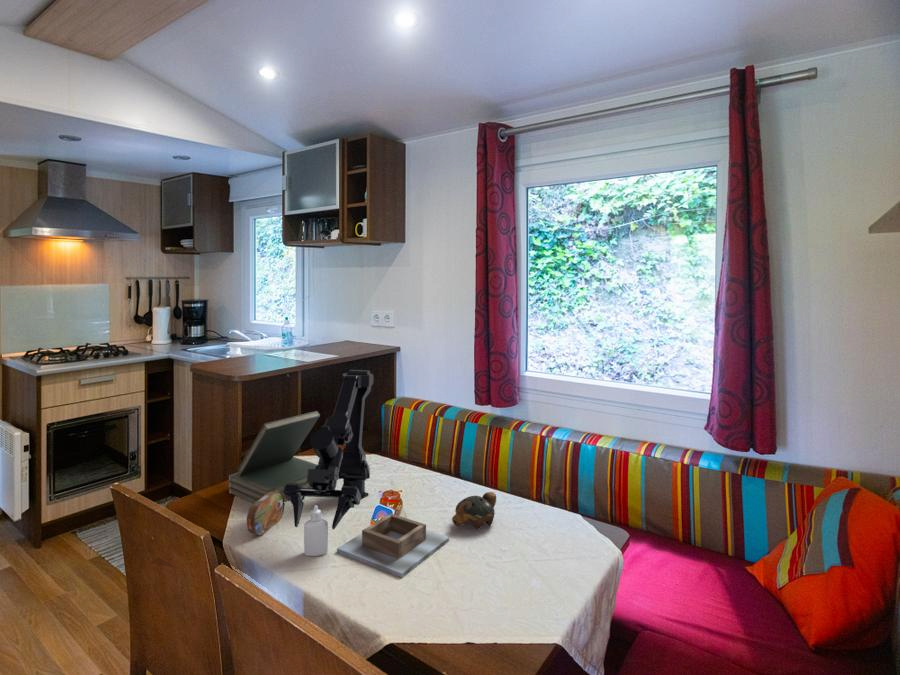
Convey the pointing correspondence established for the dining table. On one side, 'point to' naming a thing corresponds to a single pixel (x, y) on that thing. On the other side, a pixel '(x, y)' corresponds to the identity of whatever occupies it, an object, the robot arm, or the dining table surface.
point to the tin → (265, 513)
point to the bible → (274, 459)
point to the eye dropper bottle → (316, 534)
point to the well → (394, 544)
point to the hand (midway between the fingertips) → (314, 527)
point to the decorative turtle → (475, 510)
